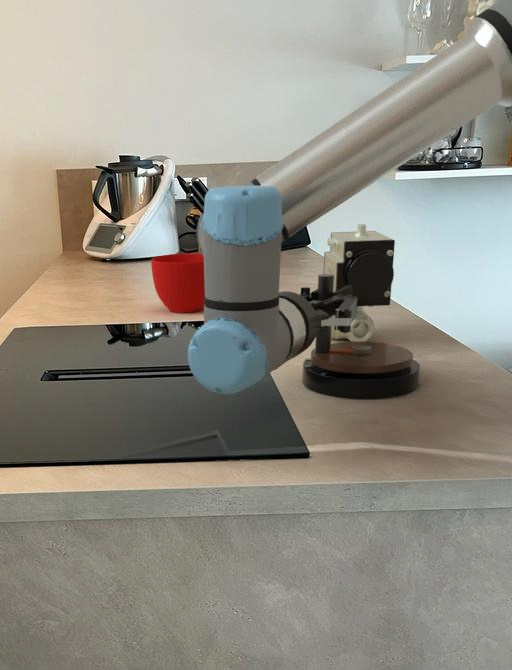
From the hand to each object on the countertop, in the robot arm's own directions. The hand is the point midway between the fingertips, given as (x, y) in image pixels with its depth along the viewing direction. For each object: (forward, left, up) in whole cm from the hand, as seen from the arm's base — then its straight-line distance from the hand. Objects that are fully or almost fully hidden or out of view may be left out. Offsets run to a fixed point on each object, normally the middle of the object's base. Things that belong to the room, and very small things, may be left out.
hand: (338, 295), depth 107 cm
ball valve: (+1, -19, -11) cm, 22 cm away
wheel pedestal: (-4, +6, -10) cm, 13 cm away
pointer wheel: (-4, +6, -7) cm, 10 cm away
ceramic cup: (+35, -39, -11) cm, 54 cm away
